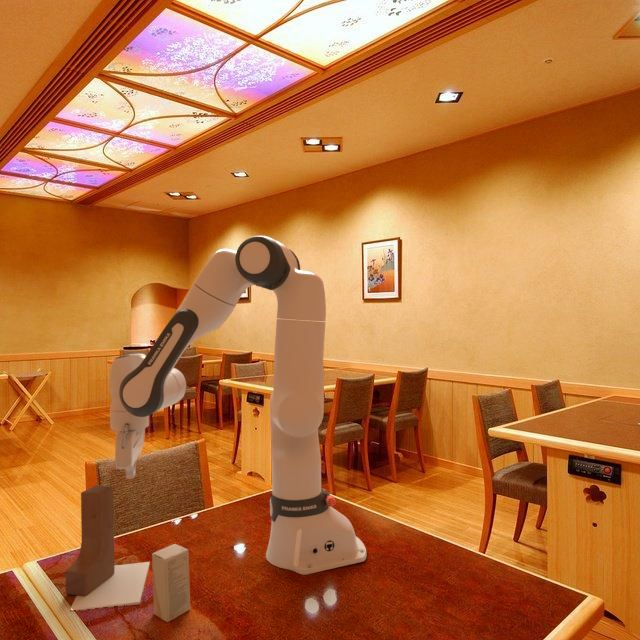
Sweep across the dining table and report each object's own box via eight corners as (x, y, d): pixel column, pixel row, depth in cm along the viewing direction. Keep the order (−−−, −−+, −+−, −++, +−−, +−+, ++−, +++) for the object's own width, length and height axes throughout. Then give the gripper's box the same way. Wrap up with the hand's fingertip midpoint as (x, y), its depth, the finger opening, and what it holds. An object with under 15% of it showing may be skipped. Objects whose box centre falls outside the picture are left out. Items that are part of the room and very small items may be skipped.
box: (177, 601, 94) (176, 542, 95) (191, 609, 92) (190, 548, 92) (151, 614, 90) (151, 552, 90) (165, 623, 88) (165, 559, 88)
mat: (149, 564, 109) (149, 561, 109) (139, 604, 94) (139, 601, 94) (90, 570, 107) (90, 568, 107) (69, 613, 91) (69, 610, 91)
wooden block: (84, 597, 96) (83, 501, 96) (64, 594, 97) (63, 500, 97) (115, 574, 104) (114, 486, 104) (96, 571, 105) (95, 485, 105)
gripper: (137, 428, 114) (138, 489, 114) (148, 412, 134) (149, 464, 134) (107, 429, 113) (108, 492, 112) (123, 413, 133) (123, 466, 133)
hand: (130, 477), depth 123 cm, fingers closed
